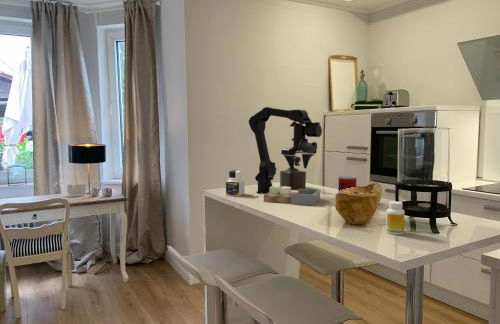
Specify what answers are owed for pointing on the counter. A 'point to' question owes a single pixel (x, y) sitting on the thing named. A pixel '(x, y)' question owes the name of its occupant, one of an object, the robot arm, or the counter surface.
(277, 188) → the sage tile
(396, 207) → the supplement bottle
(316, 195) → the box
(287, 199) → the riser board
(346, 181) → the canned food
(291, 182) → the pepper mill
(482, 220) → the counter surface
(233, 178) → the medicine bottle
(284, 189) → the cream tile
